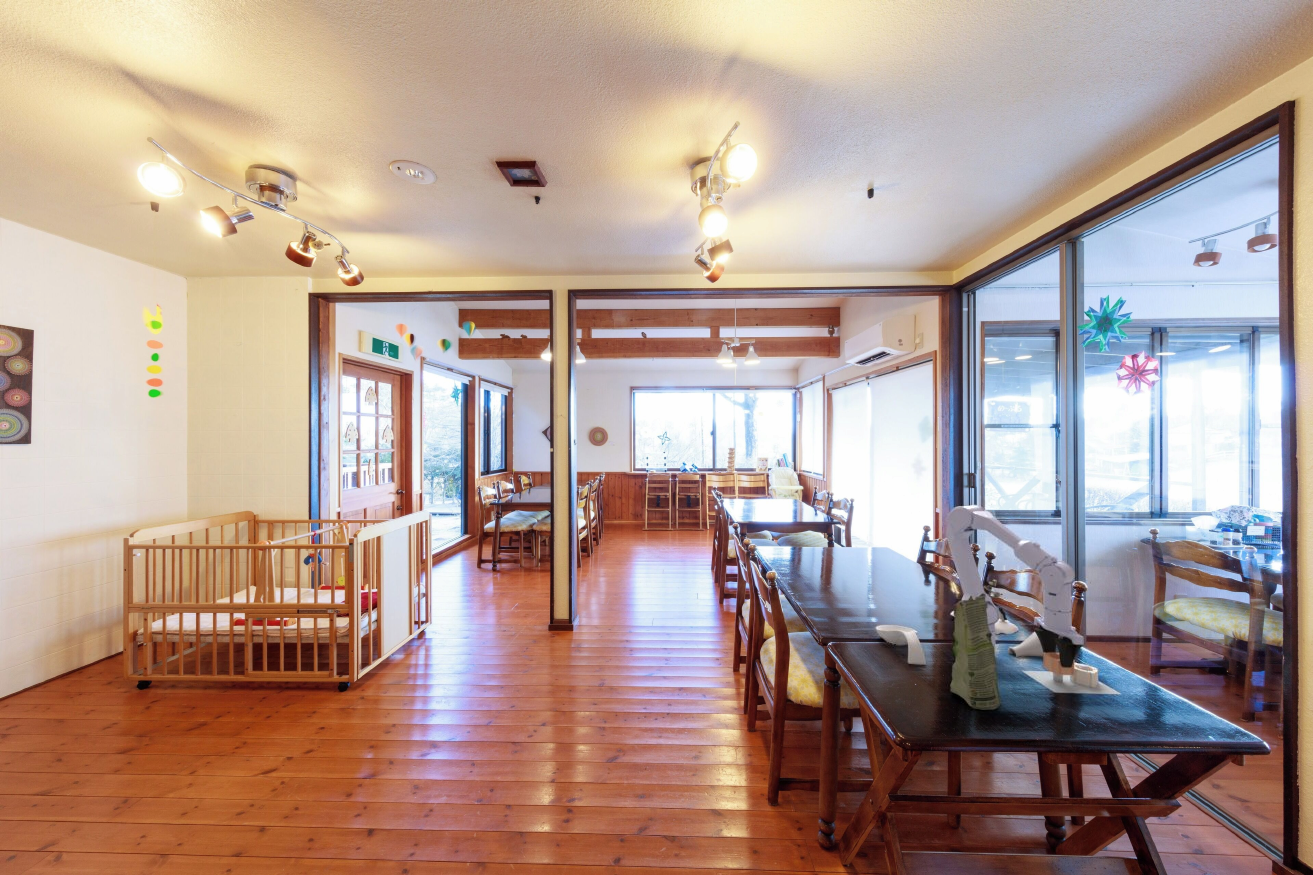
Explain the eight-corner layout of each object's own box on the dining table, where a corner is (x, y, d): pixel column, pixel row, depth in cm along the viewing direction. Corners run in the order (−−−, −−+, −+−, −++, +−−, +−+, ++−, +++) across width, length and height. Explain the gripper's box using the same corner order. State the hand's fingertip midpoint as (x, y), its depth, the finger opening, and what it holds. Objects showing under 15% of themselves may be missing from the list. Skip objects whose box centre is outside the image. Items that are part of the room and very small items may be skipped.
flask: (1055, 643, 143) (1023, 651, 142) (1052, 663, 145) (1021, 672, 144) (1032, 627, 150) (1002, 634, 149) (1030, 646, 152) (1001, 654, 151)
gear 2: (1095, 688, 126) (1095, 674, 126) (1069, 681, 130) (1069, 667, 130) (1098, 681, 130) (1098, 668, 130) (1073, 675, 133) (1072, 661, 134)
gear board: (1054, 696, 124) (1054, 675, 124) (1021, 674, 136) (1021, 655, 136) (1122, 698, 123) (1122, 677, 123) (1083, 676, 135) (1083, 657, 135)
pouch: (956, 709, 117) (956, 601, 118) (940, 685, 129) (940, 587, 130) (1010, 715, 115) (1010, 605, 115) (989, 690, 126) (988, 590, 127)
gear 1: (1055, 674, 128) (1056, 661, 128) (1040, 665, 133) (1041, 652, 133) (1076, 675, 128) (1077, 661, 127) (1061, 665, 133) (1061, 652, 133)
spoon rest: (871, 634, 166) (871, 612, 166) (908, 635, 164) (908, 613, 164) (896, 664, 142) (896, 639, 142) (940, 667, 141) (940, 641, 141)
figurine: (938, 616, 180) (943, 571, 179) (971, 610, 188) (975, 567, 187) (996, 641, 162) (1002, 592, 161) (1029, 633, 170) (1035, 586, 169)
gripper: (1096, 619, 123) (1097, 675, 123) (1052, 601, 138) (1053, 651, 137) (1066, 618, 123) (1066, 674, 123) (1025, 600, 138) (1026, 650, 138)
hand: (1057, 662), depth 130 cm, fingers closed on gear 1, 5 cm apart
